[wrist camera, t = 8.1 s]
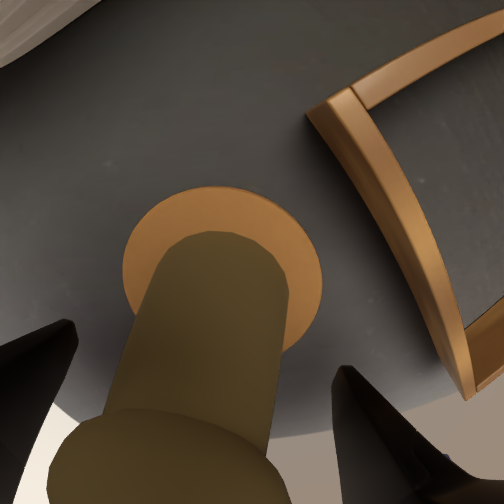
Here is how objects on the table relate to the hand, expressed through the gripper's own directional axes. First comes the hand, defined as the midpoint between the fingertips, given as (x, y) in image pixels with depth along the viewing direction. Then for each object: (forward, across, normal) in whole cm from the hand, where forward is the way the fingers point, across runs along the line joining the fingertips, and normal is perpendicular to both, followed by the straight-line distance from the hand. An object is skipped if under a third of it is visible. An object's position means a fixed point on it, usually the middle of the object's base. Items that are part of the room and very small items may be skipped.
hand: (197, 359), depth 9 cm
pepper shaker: (+4, 0, 0) cm, 5 cm away
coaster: (+5, 0, 0) cm, 5 cm away
